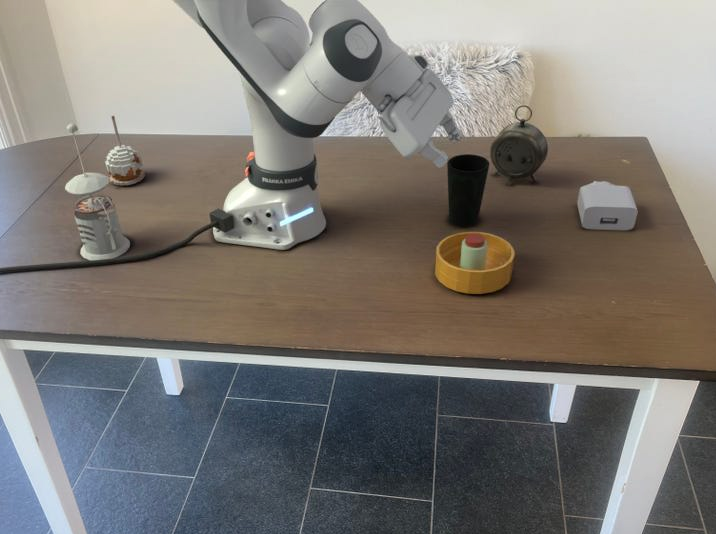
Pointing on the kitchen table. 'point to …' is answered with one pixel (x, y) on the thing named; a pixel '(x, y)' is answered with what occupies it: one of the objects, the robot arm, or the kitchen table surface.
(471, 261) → the container
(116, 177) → the caramel apple
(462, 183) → the cup
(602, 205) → the charger
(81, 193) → the french press
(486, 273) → the bowl
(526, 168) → the alarm clock
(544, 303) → the kitchen table surface
